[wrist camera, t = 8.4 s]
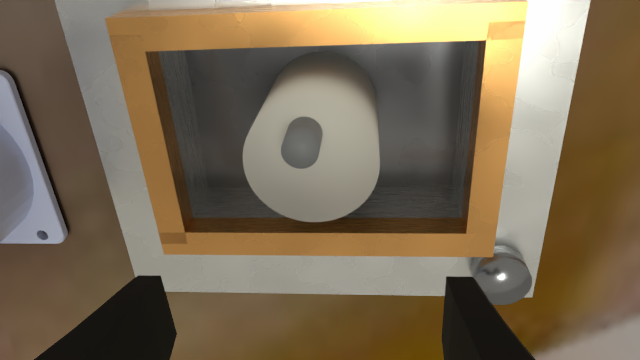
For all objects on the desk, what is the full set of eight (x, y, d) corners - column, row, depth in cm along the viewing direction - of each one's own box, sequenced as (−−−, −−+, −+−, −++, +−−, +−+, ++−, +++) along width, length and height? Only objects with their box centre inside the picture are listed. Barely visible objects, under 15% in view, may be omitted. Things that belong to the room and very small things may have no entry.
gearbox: (160, 254, 23) (129, 307, 20) (74, -85, 17) (8, -82, 14) (515, 257, 22) (539, 315, 19) (578, -116, 15) (631, -120, 12)
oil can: (282, 156, 20) (250, 250, 15) (261, 59, 18) (217, 124, 13) (381, 146, 20) (387, 239, 14) (371, 44, 18) (372, 106, 12)
